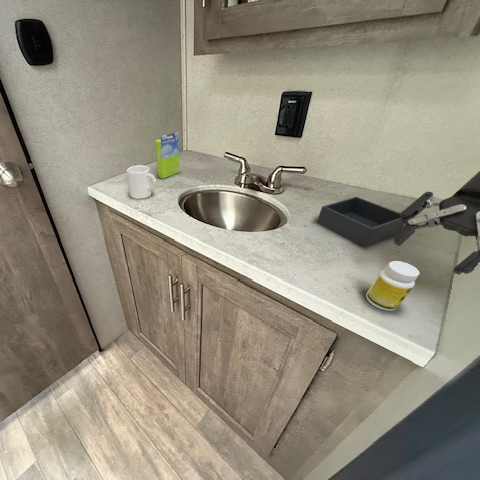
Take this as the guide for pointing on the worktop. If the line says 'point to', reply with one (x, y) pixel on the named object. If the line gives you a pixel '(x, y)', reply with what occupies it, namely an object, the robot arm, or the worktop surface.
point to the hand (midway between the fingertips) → (423, 256)
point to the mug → (140, 181)
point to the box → (167, 155)
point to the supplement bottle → (392, 285)
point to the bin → (360, 220)
